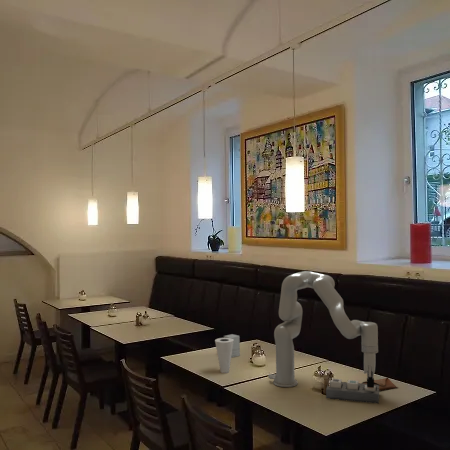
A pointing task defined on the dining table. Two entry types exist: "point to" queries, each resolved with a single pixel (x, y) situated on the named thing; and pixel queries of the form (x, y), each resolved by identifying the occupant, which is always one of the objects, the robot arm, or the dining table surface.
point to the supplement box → (235, 345)
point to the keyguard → (353, 393)
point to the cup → (224, 353)
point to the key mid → (352, 384)
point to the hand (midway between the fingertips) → (370, 386)
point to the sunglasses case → (383, 384)
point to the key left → (336, 383)
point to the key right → (370, 388)
